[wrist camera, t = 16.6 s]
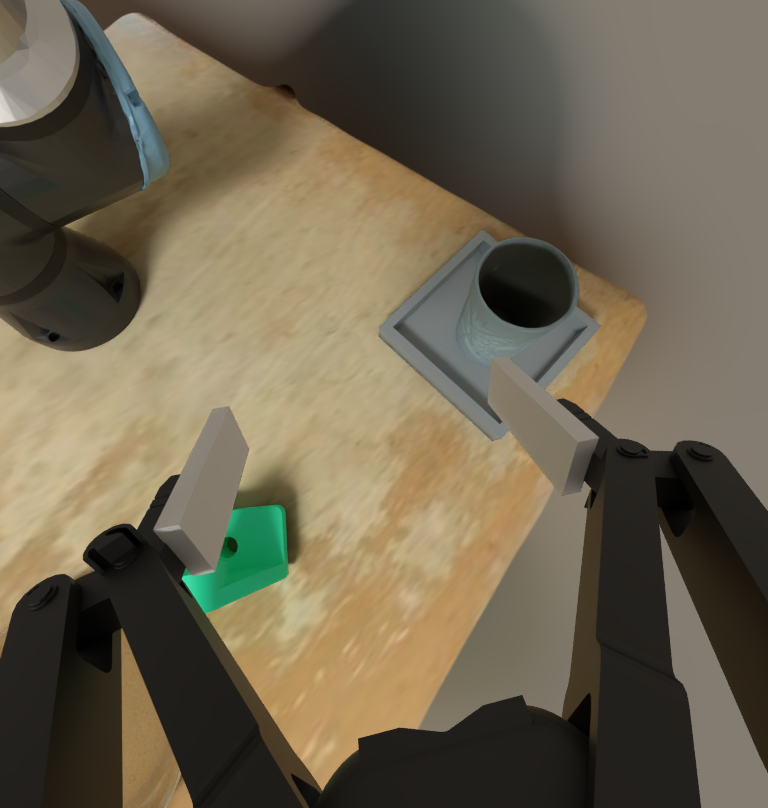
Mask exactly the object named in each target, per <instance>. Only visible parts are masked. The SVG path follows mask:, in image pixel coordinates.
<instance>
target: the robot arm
mask: <svg viewBox="0 0 768 808" xmlns="http://www.w3.org/2000/svg"><path fill="white" fill-rule="evenodd" d="M169 168H170V157H169V153H168V150H167V148H166V145H165V143H164V141H163V138H162V136H161V134H160V132H159V130H158V128H157V126H156V124H155V122H154V120H153V118H152V116H151V114H150V112H149V110H148V109H147V107H146V105H145V103H144V102H143V100H142V99H141V98H140V97H139V93H138V91H137V89H136V87H135V86H134V83H133V81H132V79H131V77H130V75H129V74H128V72H127V70H126V68H125V67H124V65H123V63H122V62H121V60H120V58H119V57H118V55H117V53H116V51H115V50H114V48H113V47H112V45H111V43H110V42H109V40H108V38H107V37H106V35H105V34H104V32H103V31H102V29H101V28H100V26H99V25H98V23H97V22H96V20H95V19H94V18H93V16H92V15H91V13H90V12H89V11H88V10H87V8H86V7H85V6H84V5H83V4H81V3H80V2H79V1H76V0H0V318H1V319H3V320H4V321H5V322H6V323H8V324H9V325H10V326H12V327H13V328H14V329H15V330H17V331H18V332H19V333H21V334H22V335H23V336H25V337H27V338H28V339H30V340H32V341H34V342H37V343H40V344H42V345H45V346H48V347H50V348H53V349H56V350H61V351H82V350H87V349H91V348H94V347H97V346H99V345H101V344H103V343H105V342H107V341H109V340H111V339H112V338H113V337H115V336H116V335H117V334H119V333H120V332H121V331H122V330H123V329H124V328H125V327H126V326H127V324H128V323H129V322H130V320H131V319H132V317H133V315H134V313H135V311H136V309H137V306H138V303H139V298H140V284H139V279H138V276H137V274H136V272H135V270H134V269H133V267H132V266H131V265H130V263H129V262H128V261H127V260H125V259H124V258H123V257H122V256H121V255H119V254H118V253H117V252H116V251H115V250H113V249H112V248H110V247H109V246H107V245H106V244H104V243H102V242H100V241H97V240H95V239H93V238H90V237H88V236H86V235H83V234H81V233H79V232H77V231H74V230H72V229H70V228H67V227H65V225H67V224H69V223H71V222H73V221H75V220H78V219H80V218H82V217H84V216H86V215H88V214H91V213H93V212H95V211H97V210H99V209H102V208H104V207H106V206H108V205H110V204H112V203H115V202H117V201H119V200H121V199H123V198H125V197H128V196H130V195H132V194H134V193H136V192H138V191H143V190H145V189H147V187H148V186H149V184H151V183H152V182H154V181H156V180H158V179H159V178H161V177H163V176H164V175H166V174H167V173H168V171H169ZM488 404H489V405H490V407H491V408H492V409H493V410H494V412H495V413H496V414H497V415H498V417H499V418H500V419H501V420H502V422H503V423H504V424H505V425H506V427H507V428H508V429H509V430H510V432H511V433H512V434H513V435H514V437H515V438H516V439H517V440H518V442H519V443H520V444H521V445H522V447H523V448H524V449H525V450H526V452H527V453H528V454H529V455H530V457H531V458H532V459H533V460H534V462H535V463H536V464H537V465H538V467H539V468H540V469H541V470H542V472H543V473H544V474H545V475H546V477H547V478H548V479H549V480H550V482H551V483H552V484H553V485H554V487H555V488H556V489H557V490H558V492H559V493H560V494H561V495H562V496H563V495H568V494H572V493H577V492H580V491H581V488H582V485H583V483H584V481H585V482H586V483H587V484H588V485H589V486H590V488H591V490H590V493H589V496H588V498H587V501H586V504H585V506H584V507H585V508H587V519H586V527H585V537H584V547H583V556H582V566H581V576H580V585H579V595H578V604H577V614H576V624H575V633H574V642H573V653H572V662H571V671H570V678H569V684H568V688H567V691H566V695H565V700H564V705H563V713H562V718H561V717H560V716H558V715H556V714H554V713H552V712H549V711H547V710H545V709H542V708H538V707H534V706H527V705H526V703H525V701H524V698H523V696H522V695H521V696H517V697H513V698H509V699H505V700H502V701H498V702H495V703H490V704H487V705H483V706H482V707H480V708H479V709H478V710H476V711H475V712H473V713H472V714H471V715H469V716H468V717H466V718H465V719H464V720H463V721H461V722H460V723H458V724H457V725H455V726H454V727H453V728H451V729H450V730H448V731H446V732H436V731H426V730H417V729H407V728H396V729H393V730H389V731H385V732H381V733H378V734H374V735H370V736H366V737H363V738H359V739H358V744H359V750H357V751H356V752H355V753H353V754H352V755H351V756H350V757H349V758H347V759H346V760H345V761H344V762H343V763H342V764H341V766H340V767H339V768H338V769H337V770H336V772H335V773H334V774H333V775H332V777H331V778H330V780H329V781H328V783H327V784H326V786H325V788H324V790H323V791H322V790H321V788H320V787H319V785H318V783H317V782H316V780H315V779H314V778H313V776H312V775H311V773H310V772H309V770H308V769H307V768H306V766H305V765H304V764H303V762H302V761H301V760H300V759H299V757H298V756H297V755H296V754H295V752H294V751H293V749H292V748H291V746H290V745H289V743H288V742H287V740H286V739H285V737H284V735H283V734H282V732H281V731H280V729H279V728H278V726H277V725H276V723H275V721H274V720H273V718H272V717H271V715H270V714H269V712H268V711H267V709H266V708H265V706H264V704H263V703H262V701H261V700H260V698H259V697H258V695H257V694H256V692H255V690H254V689H253V687H252V686H251V684H250V683H249V681H248V680H247V678H246V677H245V675H244V673H243V672H242V670H241V669H240V667H239V666H238V664H237V663H236V661H235V659H234V658H233V656H232V655H231V653H230V652H229V650H228V649H227V647H226V645H225V644H224V642H223V641H222V639H221V638H220V636H219V635H218V633H217V632H216V630H215V628H214V627H213V625H212V624H211V622H210V621H209V619H208V618H207V616H206V614H205V613H204V611H203V610H202V608H201V607H200V605H199V604H198V602H197V601H196V599H195V597H194V596H193V594H192V593H191V591H190V590H189V588H188V587H187V585H186V583H185V582H184V581H183V580H182V577H183V574H184V571H185V569H187V570H188V571H189V572H190V574H191V575H192V576H193V577H194V576H199V575H203V574H208V573H212V572H215V571H216V568H217V564H218V560H219V557H220V553H221V549H222V546H223V542H224V539H225V535H226V531H227V528H228V524H229V521H230V517H231V513H232V510H233V506H234V502H235V499H236V495H237V492H238V488H239V484H240V481H241V477H242V473H243V470H244V466H245V463H246V459H247V455H248V452H249V448H248V445H247V443H246V441H245V439H244V437H243V435H242V433H241V431H240V428H239V426H238V424H237V422H236V420H235V418H234V416H233V414H232V411H231V409H230V407H229V406H228V407H223V408H217V409H213V410H212V412H211V414H210V416H209V418H208V420H207V422H206V424H205V426H204V428H203V430H202V432H201V434H200V436H199V438H198V440H197V442H196V444H195V446H194V448H193V450H192V452H191V454H190V456H189V458H188V460H187V462H186V464H185V466H184V468H183V470H182V473H181V474H179V475H174V476H171V477H170V478H169V479H168V480H167V481H166V482H165V483H164V484H163V485H162V486H161V487H160V488H159V490H158V492H157V494H156V496H155V500H153V501H152V503H151V505H150V509H148V511H147V512H146V514H145V516H144V518H143V520H142V522H141V523H140V525H139V527H138V529H137V530H136V529H135V528H134V527H133V526H132V525H130V524H120V525H117V526H113V527H111V528H109V529H108V530H106V531H104V532H102V533H101V534H100V535H98V536H97V537H96V538H95V539H94V540H93V541H92V542H91V543H90V544H89V545H88V546H87V548H86V550H85V552H84V554H83V561H85V562H86V563H87V564H88V565H89V566H90V567H92V568H93V569H94V570H95V571H94V572H92V573H89V574H87V575H85V576H83V577H81V578H79V579H76V580H73V579H72V578H71V577H69V576H67V575H65V574H59V575H54V576H52V577H49V578H47V579H45V580H43V581H42V582H40V583H38V584H37V585H35V586H34V587H33V588H32V589H31V590H29V591H28V592H27V593H26V594H25V595H24V596H23V597H22V598H21V600H20V601H19V602H18V603H17V605H16V607H15V609H14V611H13V613H12V617H11V620H10V624H9V628H8V632H7V635H6V639H5V643H4V647H3V650H2V654H1V658H0V808H123V770H122V654H121V628H122V629H123V631H124V634H125V636H126V639H127V641H128V644H129V646H130V649H131V651H132V653H133V656H134V658H135V661H136V663H137V666H138V668H139V671H140V673H141V676H142V678H143V681H144V683H145V685H146V688H147V690H148V693H149V695H150V698H151V700H152V703H153V705H154V708H155V710H156V713H157V715H158V717H159V720H160V722H161V725H162V727H163V730H164V732H165V735H166V737H167V740H168V742H169V745H170V747H171V749H172V752H173V754H174V757H175V759H176V762H177V764H178V767H179V769H180V772H181V774H182V777H183V779H184V781H185V784H186V786H187V789H188V791H189V794H190V796H191V799H192V802H193V808H701V803H700V795H699V785H698V777H697V769H696V760H695V751H694V743H693V734H692V725H691V717H690V709H689V702H688V697H687V693H686V691H685V688H684V686H683V684H682V683H681V682H680V681H678V680H677V679H676V678H675V675H674V673H673V668H672V658H671V648H670V637H669V626H668V615H667V604H666V593H665V582H664V571H663V561H662V550H661V539H660V528H659V525H660V527H661V529H662V532H663V534H664V536H665V539H666V541H667V543H668V545H669V547H670V550H671V552H672V555H673V557H674V559H675V561H676V564H677V566H678V569H679V571H680V573H681V575H682V578H683V580H684V582H685V585H686V587H687V589H688V591H689V594H690V596H691V598H692V601H693V603H694V606H695V608H696V610H697V612H698V615H699V617H700V619H701V622H702V624H703V626H704V629H705V631H706V633H707V635H708V638H709V640H710V642H711V645H712V647H713V649H714V652H715V654H716V656H717V659H718V661H719V663H720V665H721V668H722V670H723V673H724V674H725V677H726V679H727V681H728V684H729V686H730V689H731V691H732V693H733V695H734V698H735V700H736V703H737V705H738V707H739V709H740V711H741V714H742V716H743V719H744V721H745V723H746V726H747V728H748V730H749V733H750V735H751V737H752V740H753V742H754V744H755V746H756V749H757V751H758V753H759V756H760V758H761V760H762V762H763V764H764V766H765V768H766V770H767V772H768V511H767V510H766V508H765V507H764V506H763V504H762V503H761V502H760V500H759V499H758V498H757V497H756V495H755V494H754V493H753V491H752V490H751V489H750V487H749V486H748V485H747V484H746V482H745V481H744V480H743V479H742V477H741V476H740V474H739V473H738V472H737V470H736V469H735V468H734V467H733V465H732V464H731V463H730V461H729V460H728V459H727V457H726V456H725V455H724V454H723V453H722V452H720V451H719V450H718V449H716V448H714V447H712V446H710V445H708V444H705V443H702V442H697V441H681V442H678V443H677V445H676V446H675V447H674V449H673V451H650V450H649V449H648V448H646V447H645V446H643V445H642V444H640V443H638V442H635V441H632V440H628V439H617V438H616V437H615V436H614V435H612V434H611V433H610V432H609V431H608V430H607V429H605V428H604V427H603V426H602V425H600V424H599V423H598V422H597V421H596V420H594V419H592V418H591V416H590V415H588V414H587V413H585V412H584V410H582V409H581V408H580V407H579V406H577V405H576V404H575V403H572V402H570V401H568V400H566V399H564V398H563V399H558V400H556V399H554V398H553V397H552V396H551V395H550V394H549V393H548V392H546V391H545V390H544V389H543V388H542V387H541V386H540V385H539V384H537V383H536V382H535V381H534V380H533V379H532V378H531V377H529V376H528V375H527V374H526V373H525V372H524V371H523V370H521V369H520V368H519V367H518V366H517V365H516V364H515V363H513V362H512V361H511V360H510V359H509V358H508V357H507V356H502V357H496V358H491V369H490V381H489V393H488Z"/></svg>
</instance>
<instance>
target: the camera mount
mask: <svg viewBox="0 0 768 808" xmlns="http://www.w3.org/2000/svg"><path fill="white" fill-rule="evenodd" d="M229 537H232V538H234V539H235V540H236V541H237V544H238V549H237V552H232V551H231V550H230V549H229V547H228V539H229ZM288 574H289V573H288V551H287V530H286V512H285V509H284V507H283V506H281V505H278V504H276V505H267V506H258V507H257V506H254V507H245V508H236V509H233V510H232V513H231V517H230V521H229V524H228V528H227V531H226V535H225V539H224V542H223V546H222V549H221V553H220V557H219V560H218V564H217V568H216V571H215V572H212V573H208V574H203V575H199V576H194V577H193V576H192V575H191V574H190V572H189V571H188V570H187V569H185V571H184V574H183V577H182V580H183V581H184V582H185V583H186V585H187V587H188V588H189V590H190V591H191V593H192V594H193V596H194V597H195V599H196V601H197V602H198V604H199V605H200V607H201V608H202V610H203V611H204V613H208V612H211V611H213V610H216V609H218V608H220V607H222V606H224V605H227V604H229V603H231V602H233V601H235V600H238V599H240V598H242V597H244V596H247V595H249V594H251V593H253V592H255V591H258V590H260V589H262V588H264V587H266V586H269V585H271V584H273V583H275V582H278V581H280V580H282V579H284V578H285V577H286V576H287V575H288Z"/></svg>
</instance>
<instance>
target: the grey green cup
mask: <svg viewBox="0 0 768 808" xmlns="http://www.w3.org/2000/svg"><path fill="white" fill-rule="evenodd" d="M578 297H579V283H578V277H577V274H576V271H575V269H574V267H573V265H572V263H571V262H570V260H569V259H568V258H567V257H566V256H565V255H564V254H563V253H562V252H561V251H560V250H558V249H557V248H556V247H554V246H552V245H551V244H549V243H547V242H544V241H542V240H538V239H535V238H529V237H516V238H509V239H506V240H503V241H501V242H499V243H497V244H495V245H493V246H492V247H491V248H490V249H489V250H487V251H486V252H485V254H484V255H483V256H482V257H481V259H480V261H479V263H478V265H477V268H476V270H475V274H474V277H473V280H472V283H471V286H470V291H469V296H468V298H467V300H466V302H465V303H464V308H463V309H462V312H461V314H460V317H459V320H458V323H457V326H456V341H457V343H458V346H459V348H460V349H461V352H462V353H464V354H465V356H466V357H468V358H469V359H471V360H472V361H474V362H476V363H479V364H481V365H487V366H491V358H496V357H502V356H507V357H508V358H509V359H511V358H513V357H514V356H515V355H517V354H518V353H520V352H521V351H523V350H524V349H525V348H527V347H529V346H530V345H531V344H533V343H534V342H535V341H537V340H539V339H540V337H542V336H544V335H545V334H547V333H548V332H550V331H551V330H553V329H554V328H556V327H557V326H559V325H560V324H561V323H563V322H564V321H565V320H567V318H568V317H569V316H570V315H571V314H572V312H573V311H574V309H575V307H576V305H577V301H578Z"/></svg>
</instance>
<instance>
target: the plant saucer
mask: <svg viewBox="0 0 768 808" xmlns="http://www.w3.org/2000/svg"><path fill="white" fill-rule="evenodd" d="M8 628H9V627H8ZM8 628H7V629H5V630H4V631H3V632H1V633H0V658H1V654H2V650H3V647H4V643H5V639H6V635H7V632H8ZM121 654H122V770H123V808H167V807H168V805H169V803H170V801H171V798H172V796H173V794H174V792H175V790H176V787H177V785H178V782H179V779H180V777H181V772H180V769H179V767H178V764H177V762H176V759H175V757H174V754H173V752H172V749H171V747H170V745H169V742H168V740H167V737H166V735H165V732H164V730H163V727H162V725H161V722H160V720H159V717H158V715H157V713H156V710H155V708H154V705H153V703H152V700H151V698H150V695H149V693H148V690H147V688H146V685H145V683H144V681H143V678H142V676H141V673H140V671H139V668H138V666H137V663H136V661H135V658H134V656H133V653H132V651H131V649H130V646H129V644H128V641H127V639H126V636H125V634H124V631H123V629H122V628H121Z"/></svg>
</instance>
